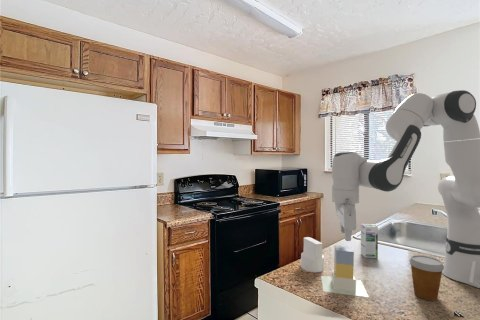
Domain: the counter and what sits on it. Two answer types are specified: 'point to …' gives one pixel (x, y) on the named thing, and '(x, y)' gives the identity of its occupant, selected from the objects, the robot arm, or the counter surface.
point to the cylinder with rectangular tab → (312, 255)
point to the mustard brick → (343, 270)
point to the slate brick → (344, 255)
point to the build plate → (329, 288)
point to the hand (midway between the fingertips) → (345, 236)
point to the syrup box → (369, 240)
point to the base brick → (343, 283)
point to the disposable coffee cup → (426, 276)
